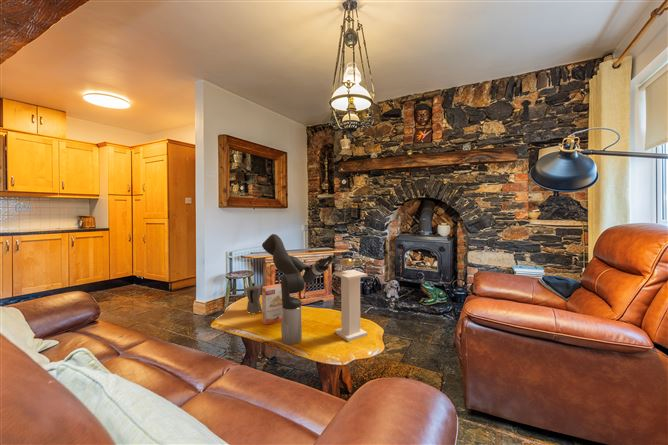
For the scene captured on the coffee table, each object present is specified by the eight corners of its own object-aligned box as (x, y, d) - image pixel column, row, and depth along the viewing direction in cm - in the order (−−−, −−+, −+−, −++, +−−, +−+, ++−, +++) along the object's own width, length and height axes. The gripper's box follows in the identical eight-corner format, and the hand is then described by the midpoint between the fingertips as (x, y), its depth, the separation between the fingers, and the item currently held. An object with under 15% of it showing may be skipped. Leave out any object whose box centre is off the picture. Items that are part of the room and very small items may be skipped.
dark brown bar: (346, 266, 146) (346, 260, 145) (325, 259, 163) (325, 254, 162) (354, 265, 148) (354, 259, 148) (332, 258, 165) (332, 253, 165)
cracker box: (266, 325, 161) (265, 288, 159) (262, 322, 165) (261, 286, 164) (288, 319, 169) (288, 284, 167) (284, 316, 174) (283, 282, 172)
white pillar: (348, 341, 141) (348, 277, 139) (334, 332, 151) (334, 272, 149) (367, 335, 148) (367, 274, 146) (353, 327, 158) (352, 269, 156)
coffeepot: (248, 307, 188) (247, 280, 187) (263, 307, 189) (262, 280, 188) (243, 317, 173) (242, 287, 172) (259, 316, 174) (258, 287, 173)
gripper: (308, 262, 171) (321, 251, 158) (328, 259, 178) (342, 249, 165) (311, 274, 168) (324, 264, 155) (331, 271, 176) (345, 261, 162)
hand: (333, 256), depth 160 cm, fingers closed on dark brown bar, 2 cm apart
